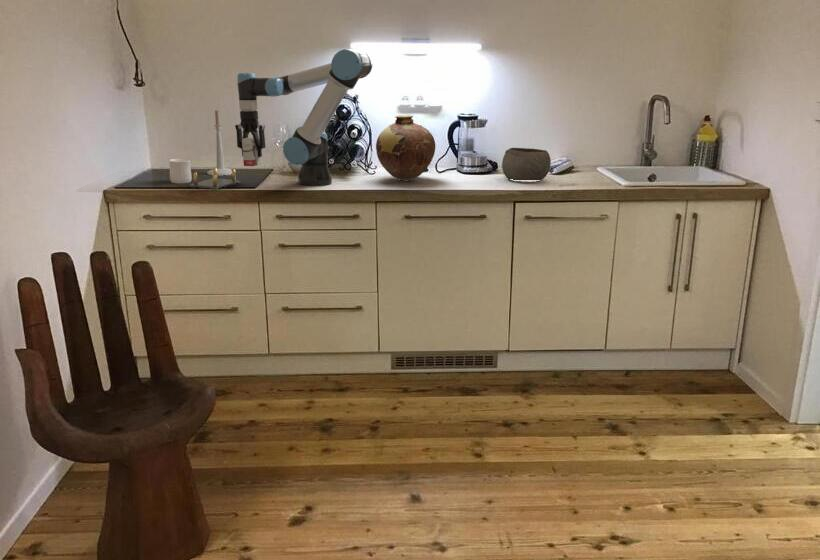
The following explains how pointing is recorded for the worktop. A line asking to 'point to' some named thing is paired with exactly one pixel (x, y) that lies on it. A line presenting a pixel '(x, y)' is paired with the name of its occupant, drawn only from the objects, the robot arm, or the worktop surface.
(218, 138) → the candlestick
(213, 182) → the chassis
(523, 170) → the bowl
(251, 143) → the ink box
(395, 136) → the vase
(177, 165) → the cup
